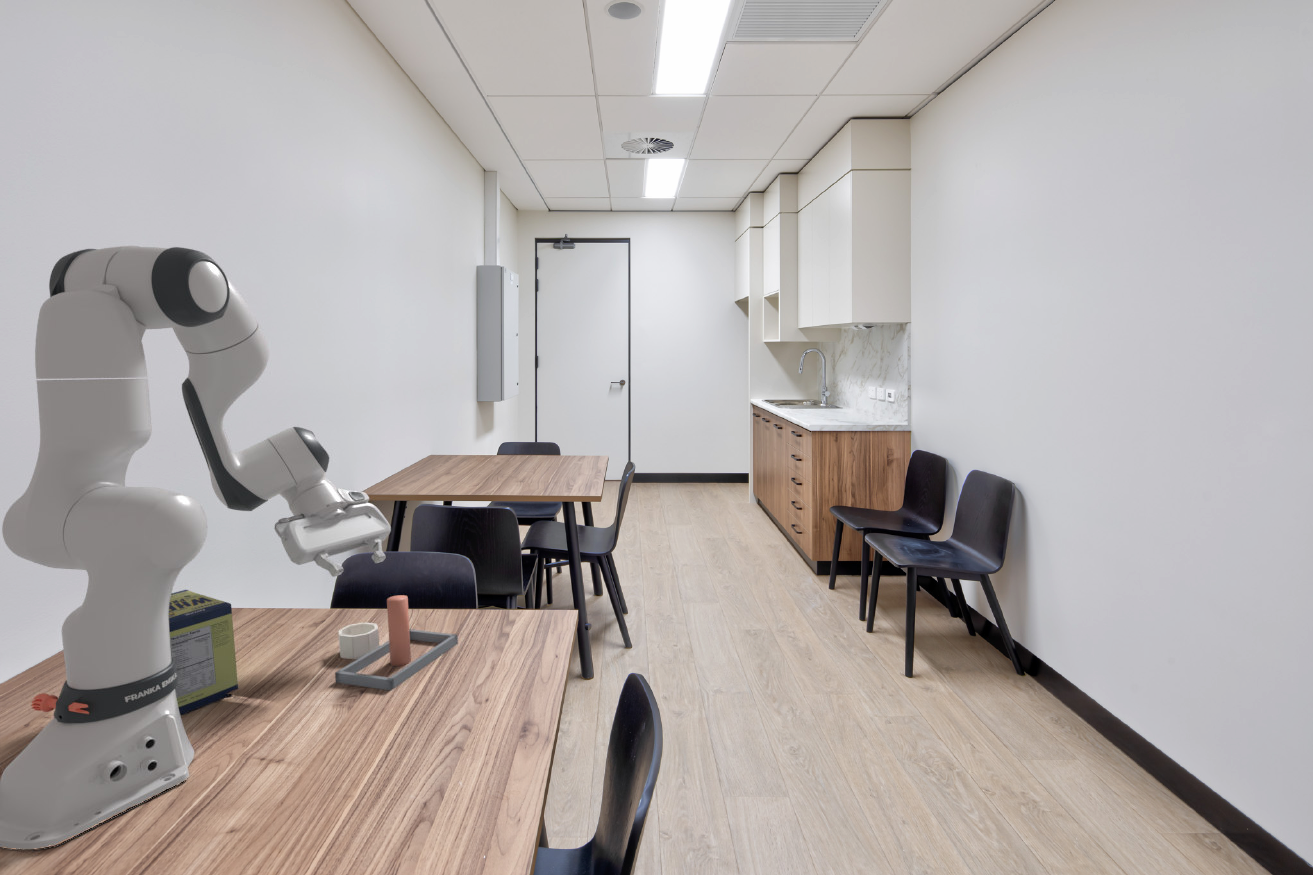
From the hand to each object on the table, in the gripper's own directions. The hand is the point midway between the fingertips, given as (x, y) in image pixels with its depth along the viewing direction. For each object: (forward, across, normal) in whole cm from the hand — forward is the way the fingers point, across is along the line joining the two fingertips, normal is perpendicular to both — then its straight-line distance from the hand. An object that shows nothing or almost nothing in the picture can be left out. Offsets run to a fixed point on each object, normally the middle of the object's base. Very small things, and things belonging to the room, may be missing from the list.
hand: (360, 567), depth 128 cm
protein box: (+1, -24, +24) cm, 33 cm away
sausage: (+18, 0, +6) cm, 19 cm away
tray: (+18, 0, +6) cm, 19 cm away
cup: (+11, 0, +14) cm, 17 cm away
